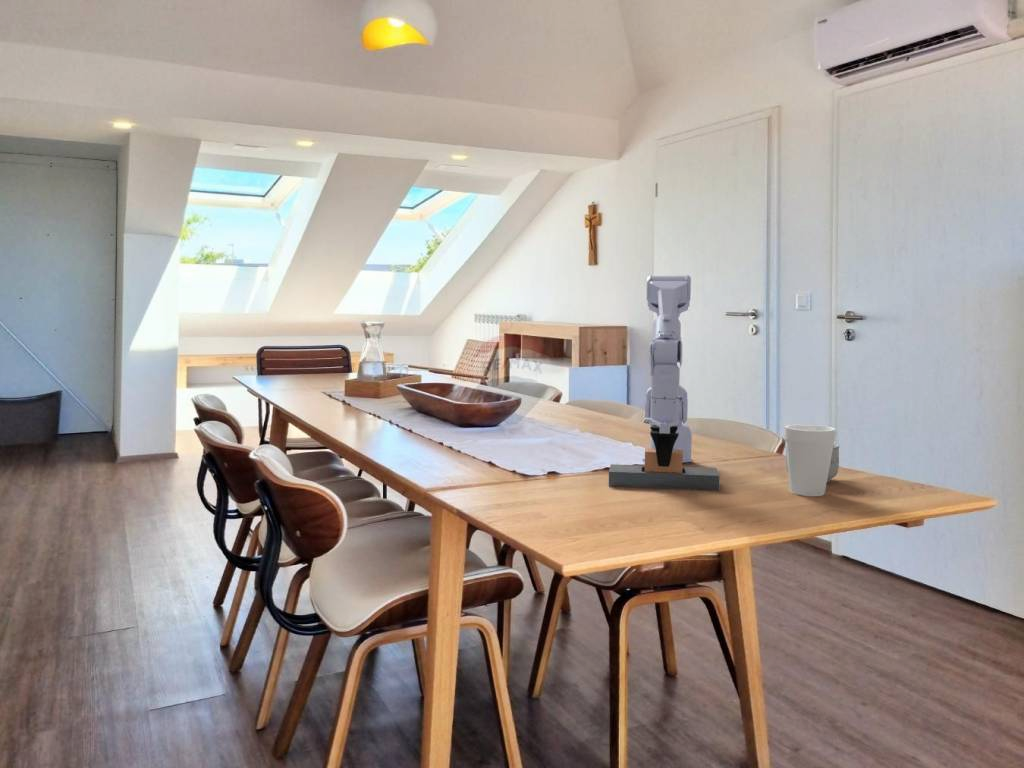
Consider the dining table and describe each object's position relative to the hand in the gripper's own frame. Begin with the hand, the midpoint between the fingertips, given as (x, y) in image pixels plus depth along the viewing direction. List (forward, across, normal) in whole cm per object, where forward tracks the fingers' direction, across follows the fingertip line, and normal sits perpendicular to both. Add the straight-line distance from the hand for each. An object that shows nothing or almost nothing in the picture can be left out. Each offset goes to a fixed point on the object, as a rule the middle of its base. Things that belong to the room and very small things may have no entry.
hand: (663, 463), depth 169 cm
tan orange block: (+4, 0, 0) cm, 4 cm away
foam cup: (+5, +2, +28) cm, 29 cm away
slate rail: (+4, 0, 0) cm, 4 cm away
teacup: (+5, -10, +32) cm, 34 cm away
